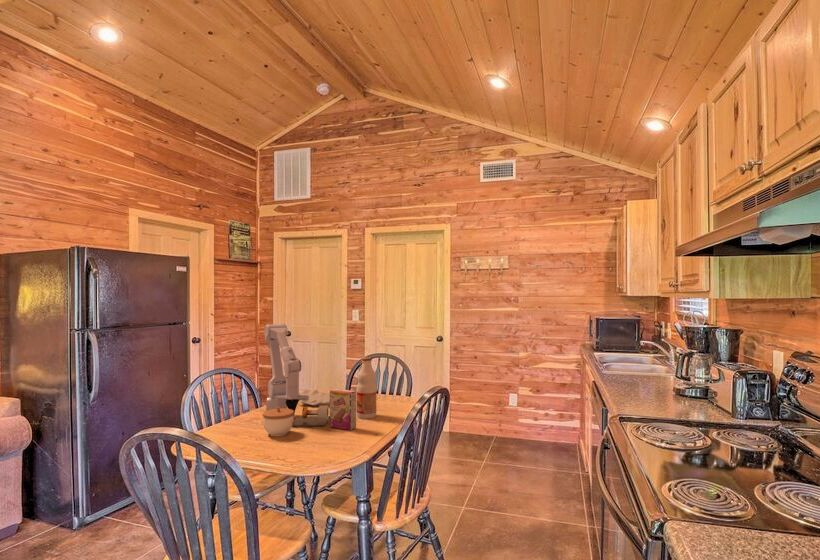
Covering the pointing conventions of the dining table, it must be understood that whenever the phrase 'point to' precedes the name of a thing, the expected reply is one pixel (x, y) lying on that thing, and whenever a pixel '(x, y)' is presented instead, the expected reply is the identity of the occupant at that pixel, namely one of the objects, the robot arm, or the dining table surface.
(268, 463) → the dining table surface
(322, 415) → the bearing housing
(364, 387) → the fruit juice
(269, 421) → the lidded bowl
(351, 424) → the candy bar box
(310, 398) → the food container
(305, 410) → the shaft
